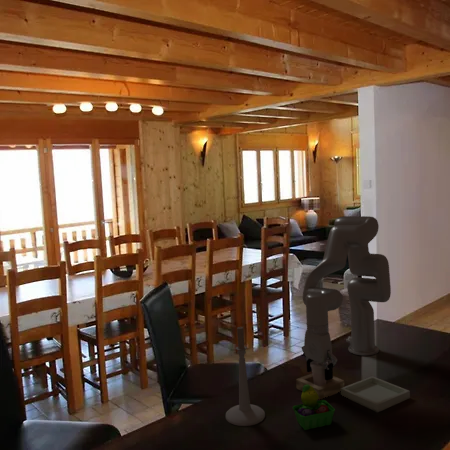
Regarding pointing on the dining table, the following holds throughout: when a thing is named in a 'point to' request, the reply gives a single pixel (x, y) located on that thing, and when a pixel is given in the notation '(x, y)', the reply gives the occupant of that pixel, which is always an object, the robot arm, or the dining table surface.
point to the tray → (375, 393)
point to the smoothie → (318, 373)
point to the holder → (322, 391)
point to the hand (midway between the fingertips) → (319, 375)
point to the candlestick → (244, 393)
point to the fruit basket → (313, 410)
